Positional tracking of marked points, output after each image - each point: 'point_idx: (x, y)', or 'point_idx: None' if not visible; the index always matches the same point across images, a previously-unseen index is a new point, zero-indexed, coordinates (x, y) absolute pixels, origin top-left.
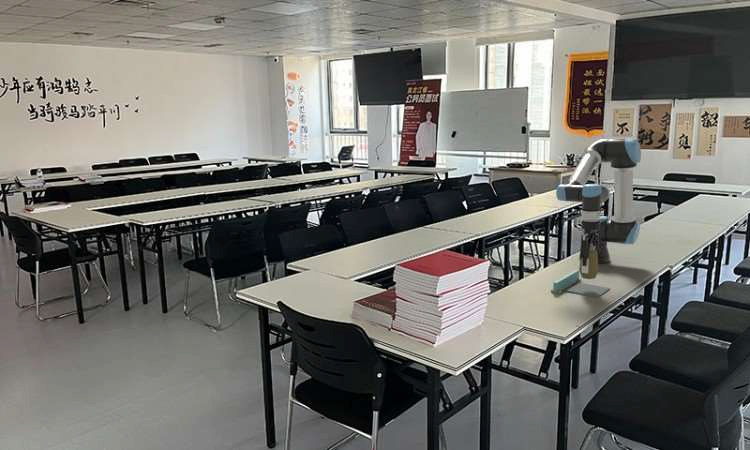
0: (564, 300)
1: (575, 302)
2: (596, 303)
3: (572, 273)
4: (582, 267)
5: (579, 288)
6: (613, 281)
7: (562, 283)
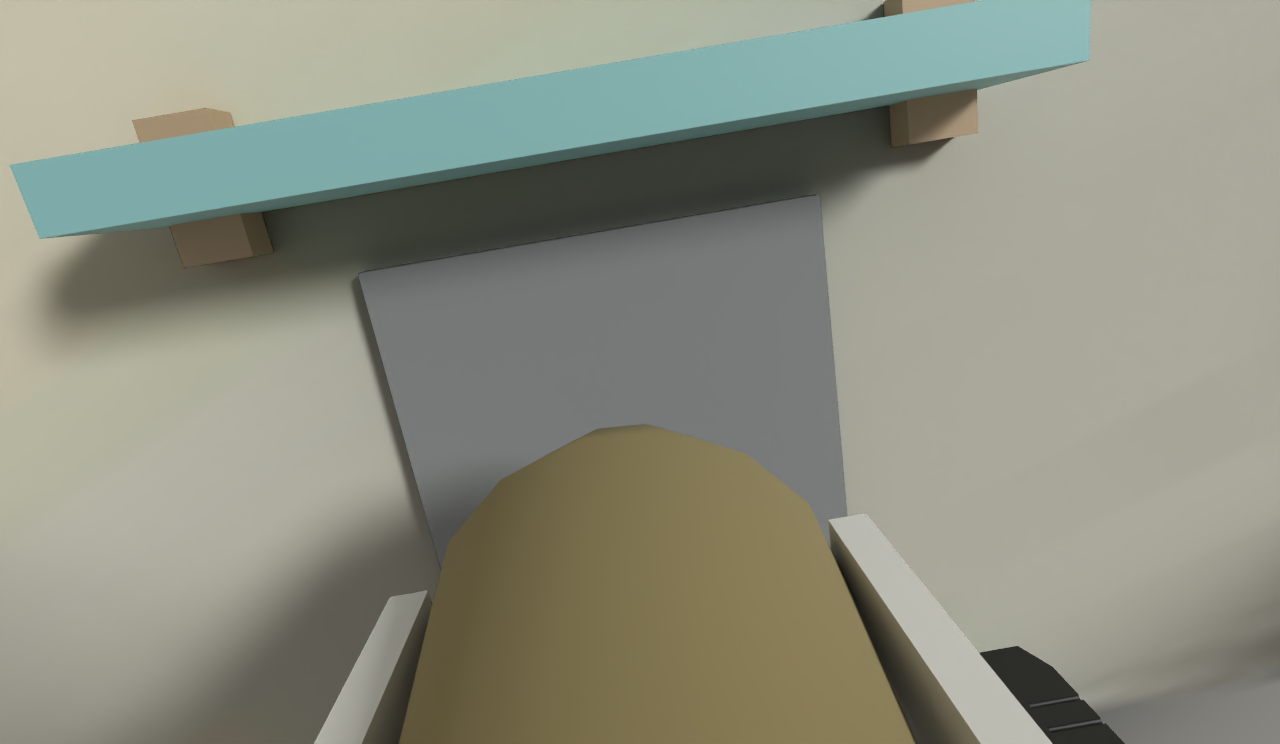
0: (58, 456)
1: (120, 579)
2: (293, 732)
3: (795, 92)
4: (348, 703)
5: (573, 353)
6: (1184, 454)
7: (328, 194)
